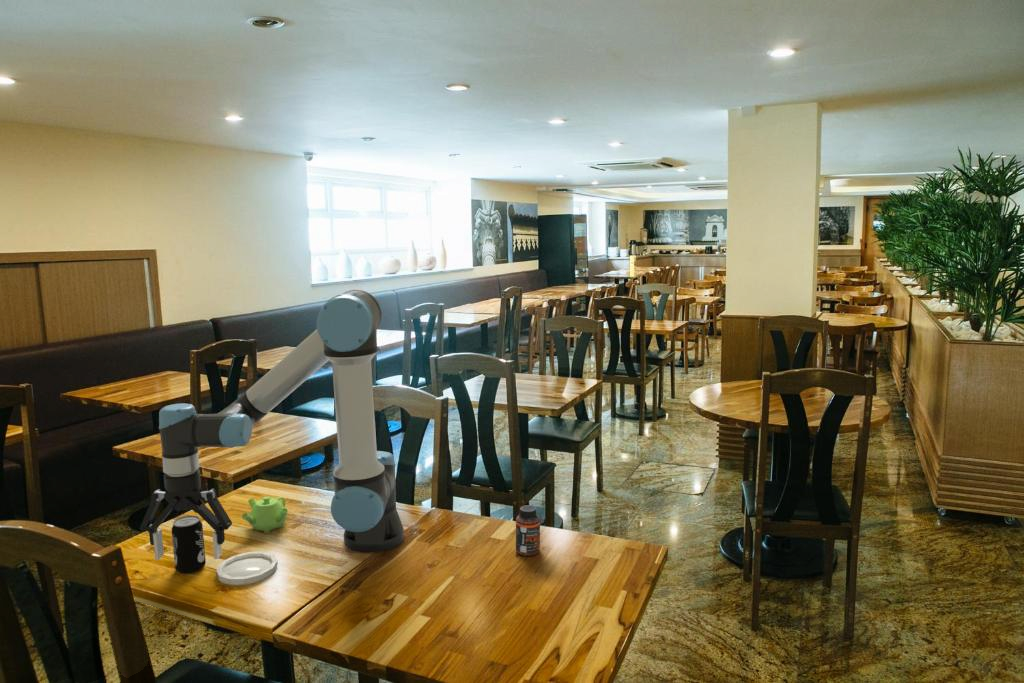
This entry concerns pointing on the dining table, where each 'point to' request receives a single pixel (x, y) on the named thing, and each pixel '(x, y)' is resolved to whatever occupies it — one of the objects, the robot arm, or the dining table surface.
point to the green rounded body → (266, 514)
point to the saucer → (247, 568)
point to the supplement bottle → (527, 531)
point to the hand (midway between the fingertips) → (189, 557)
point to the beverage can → (188, 544)
